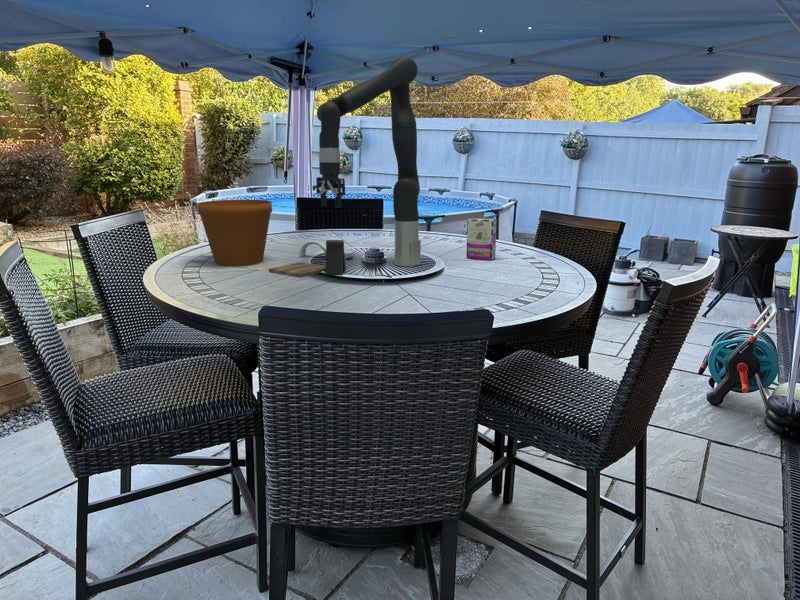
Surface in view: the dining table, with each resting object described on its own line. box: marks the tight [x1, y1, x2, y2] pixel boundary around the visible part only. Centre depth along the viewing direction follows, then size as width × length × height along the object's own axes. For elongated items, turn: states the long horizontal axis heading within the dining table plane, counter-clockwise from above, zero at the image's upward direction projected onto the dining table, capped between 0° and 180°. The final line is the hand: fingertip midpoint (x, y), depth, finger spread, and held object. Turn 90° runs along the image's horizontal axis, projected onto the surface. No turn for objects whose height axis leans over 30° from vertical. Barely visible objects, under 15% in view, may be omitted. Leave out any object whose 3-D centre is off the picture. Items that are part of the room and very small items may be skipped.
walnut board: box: [268, 261, 326, 278], centre depth 213 cm, size 16×16×1 cm
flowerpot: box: [196, 199, 273, 267], centre depth 227 cm, size 28×28×24 cm
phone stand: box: [325, 239, 347, 276], centre depth 208 cm, size 9×6×12 cm, turn 175°
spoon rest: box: [298, 239, 356, 259], centre depth 238 cm, size 24×12×7 cm, turn 75°
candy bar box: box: [466, 218, 497, 262], centre depth 235 cm, size 11×5×16 cm, turn 62°
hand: (330, 206), depth 210 cm, fingers open, 8 cm apart
